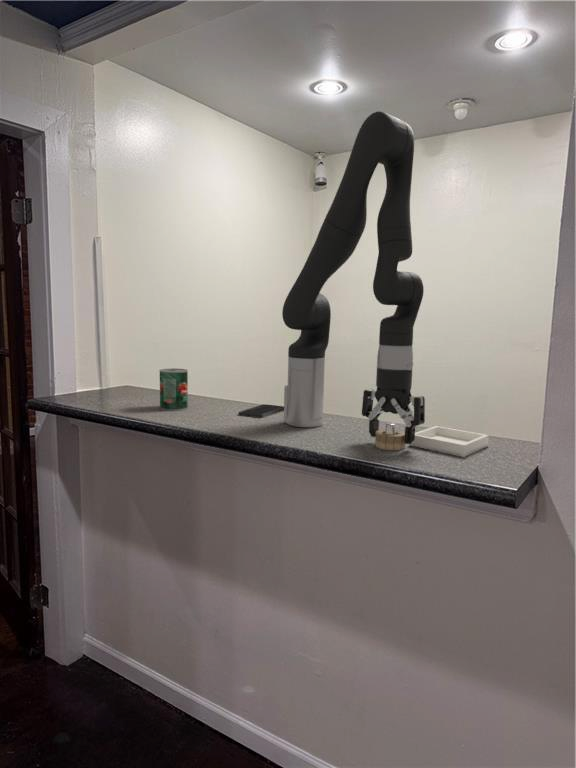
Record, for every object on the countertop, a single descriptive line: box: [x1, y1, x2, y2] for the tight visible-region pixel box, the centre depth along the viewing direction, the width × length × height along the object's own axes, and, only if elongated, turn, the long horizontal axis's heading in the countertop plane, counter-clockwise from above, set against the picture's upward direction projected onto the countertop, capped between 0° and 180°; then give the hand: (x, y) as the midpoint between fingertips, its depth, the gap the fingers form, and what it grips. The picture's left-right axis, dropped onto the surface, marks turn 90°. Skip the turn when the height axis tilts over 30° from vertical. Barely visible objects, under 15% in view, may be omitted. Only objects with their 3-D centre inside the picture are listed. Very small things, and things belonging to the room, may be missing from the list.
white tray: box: [408, 425, 490, 458], centre depth 119 cm, size 13×13×2 cm
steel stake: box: [385, 422, 397, 435], centre depth 118 cm, size 2×2×5 cm
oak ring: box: [374, 428, 406, 451], centre depth 118 cm, size 6×6×3 cm
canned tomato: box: [158, 368, 189, 412], centre depth 154 cm, size 8×8×11 cm
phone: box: [238, 403, 284, 419], centre depth 152 cm, size 8×1×15 cm
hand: (391, 439), depth 118 cm, fingers open, 8 cm apart
